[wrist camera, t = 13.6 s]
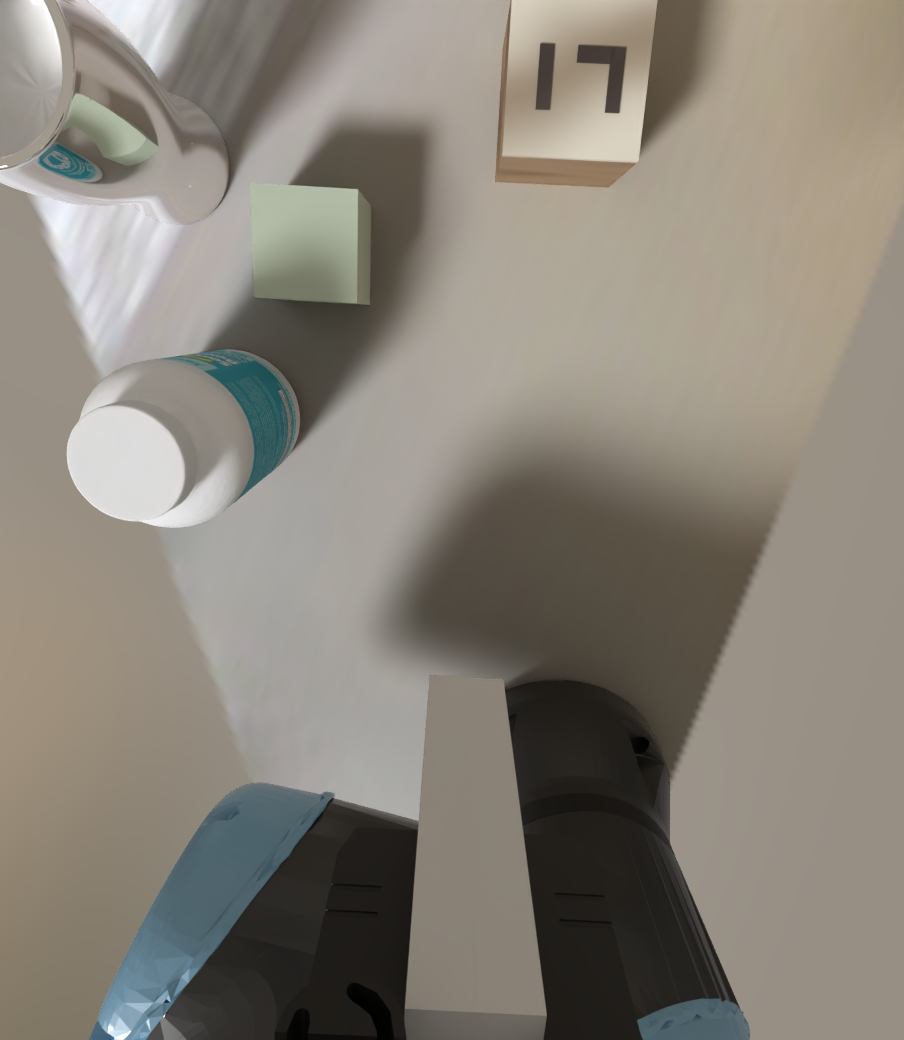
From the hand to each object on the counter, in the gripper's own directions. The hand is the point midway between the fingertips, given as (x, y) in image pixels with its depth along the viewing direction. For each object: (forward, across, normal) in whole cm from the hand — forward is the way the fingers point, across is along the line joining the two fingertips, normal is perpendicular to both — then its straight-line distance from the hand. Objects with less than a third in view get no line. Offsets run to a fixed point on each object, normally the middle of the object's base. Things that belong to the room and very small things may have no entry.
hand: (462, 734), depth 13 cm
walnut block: (+21, -4, -18) cm, 28 cm away
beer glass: (+27, +16, -15) cm, 34 cm away
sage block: (+27, +8, -11) cm, 30 cm away
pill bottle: (+27, +13, -2) cm, 30 cm away
